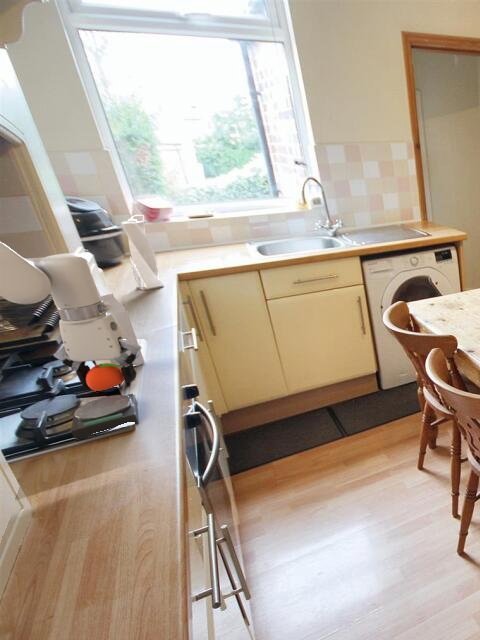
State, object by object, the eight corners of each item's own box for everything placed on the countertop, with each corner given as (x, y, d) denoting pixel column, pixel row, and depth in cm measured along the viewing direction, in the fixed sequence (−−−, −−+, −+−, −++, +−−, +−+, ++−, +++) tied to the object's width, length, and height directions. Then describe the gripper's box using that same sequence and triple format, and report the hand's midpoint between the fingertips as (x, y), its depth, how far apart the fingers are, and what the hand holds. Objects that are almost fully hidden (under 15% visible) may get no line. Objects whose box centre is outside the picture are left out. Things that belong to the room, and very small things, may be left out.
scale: (79, 417, 99) (73, 405, 98) (137, 402, 105) (133, 391, 104) (75, 441, 91) (70, 429, 90) (138, 424, 97) (134, 412, 96)
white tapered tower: (161, 282, 191) (139, 213, 180) (169, 286, 187) (147, 214, 176) (136, 287, 185) (112, 215, 174) (144, 291, 180) (120, 217, 169)
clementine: (139, 381, 114) (130, 355, 111) (128, 395, 108) (117, 368, 105) (99, 386, 111) (89, 359, 108) (86, 400, 105) (74, 373, 102)
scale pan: (77, 407, 98) (75, 403, 98) (131, 393, 103) (130, 390, 103) (74, 426, 91) (72, 423, 91) (132, 411, 97) (131, 408, 96)
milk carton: (98, 370, 119) (70, 299, 112) (128, 358, 125) (103, 291, 118) (115, 375, 117) (88, 303, 109) (145, 363, 123) (121, 294, 115)
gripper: (136, 303, 106) (159, 371, 113) (48, 308, 103) (77, 378, 110) (118, 314, 100) (144, 385, 107) (23, 320, 96) (56, 393, 103)
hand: (110, 381), depth 108 cm, fingers closed on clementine, 8 cm apart
